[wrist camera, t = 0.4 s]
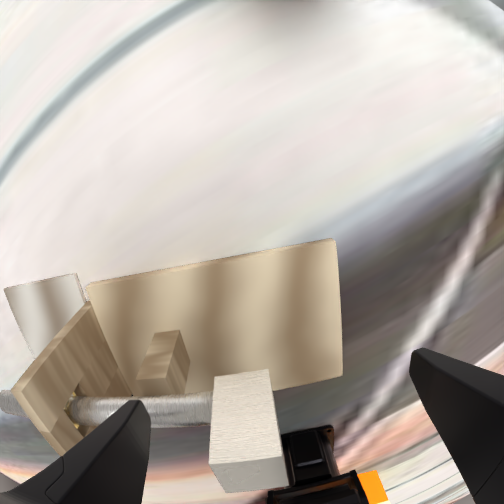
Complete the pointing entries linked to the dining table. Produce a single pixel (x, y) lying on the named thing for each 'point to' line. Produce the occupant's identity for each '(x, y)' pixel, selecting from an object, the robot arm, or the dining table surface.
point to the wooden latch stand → (178, 331)
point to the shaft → (207, 413)
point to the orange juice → (373, 488)
